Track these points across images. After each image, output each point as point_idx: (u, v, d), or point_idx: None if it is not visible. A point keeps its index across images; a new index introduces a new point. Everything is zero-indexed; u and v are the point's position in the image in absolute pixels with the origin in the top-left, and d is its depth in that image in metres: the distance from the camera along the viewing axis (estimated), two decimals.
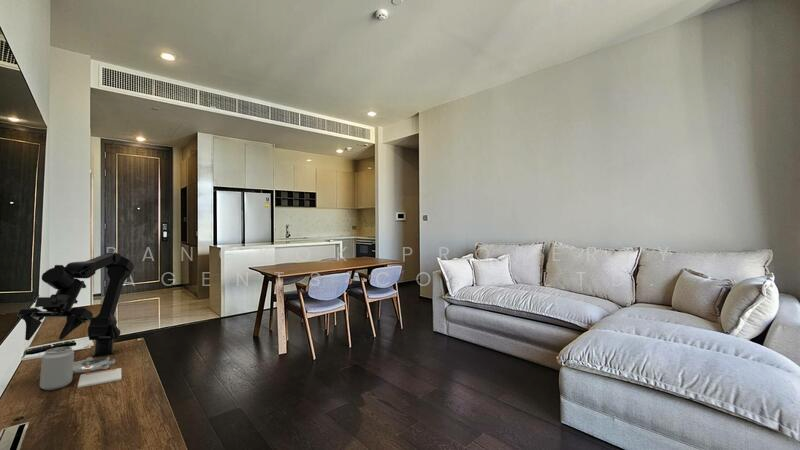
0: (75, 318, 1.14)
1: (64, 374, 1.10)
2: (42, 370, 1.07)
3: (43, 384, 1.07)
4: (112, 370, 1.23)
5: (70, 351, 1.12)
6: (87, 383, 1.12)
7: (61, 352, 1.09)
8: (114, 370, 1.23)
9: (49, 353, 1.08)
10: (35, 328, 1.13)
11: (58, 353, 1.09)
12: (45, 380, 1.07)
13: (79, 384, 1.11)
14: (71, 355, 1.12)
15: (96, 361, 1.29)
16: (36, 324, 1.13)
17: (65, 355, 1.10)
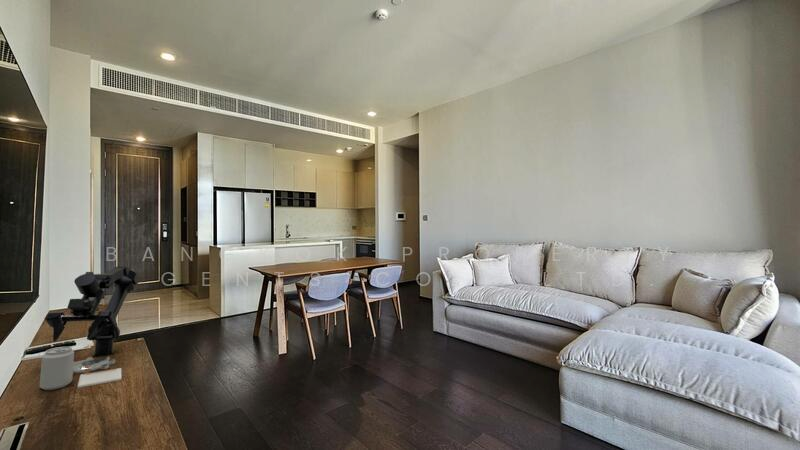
0: (102, 320, 1.23)
1: (64, 374, 1.10)
2: (42, 370, 1.07)
3: (43, 384, 1.07)
4: (112, 370, 1.23)
5: (70, 351, 1.12)
6: (87, 383, 1.12)
7: (61, 352, 1.09)
8: (114, 370, 1.23)
9: (49, 353, 1.08)
10: (60, 331, 1.20)
11: (58, 353, 1.09)
12: (45, 380, 1.07)
13: (79, 384, 1.11)
14: (71, 355, 1.12)
15: (96, 361, 1.29)
16: (61, 328, 1.20)
17: (65, 355, 1.10)
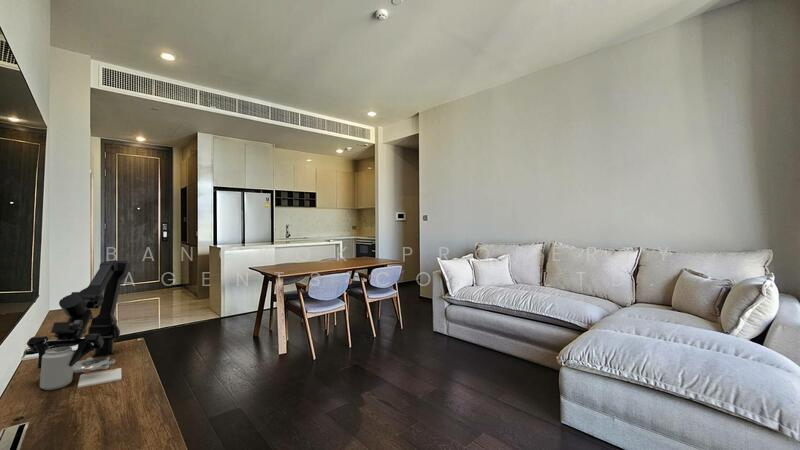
0: (87, 344, 1.15)
1: (64, 374, 1.10)
2: (42, 370, 1.07)
3: (43, 384, 1.07)
4: (112, 370, 1.23)
5: (70, 351, 1.12)
6: (87, 383, 1.12)
7: (61, 352, 1.09)
8: (114, 370, 1.23)
9: (49, 353, 1.08)
10: None
11: (58, 353, 1.09)
12: (45, 380, 1.07)
13: (79, 384, 1.11)
14: (71, 355, 1.12)
15: (96, 361, 1.29)
16: None
17: (65, 354, 1.10)
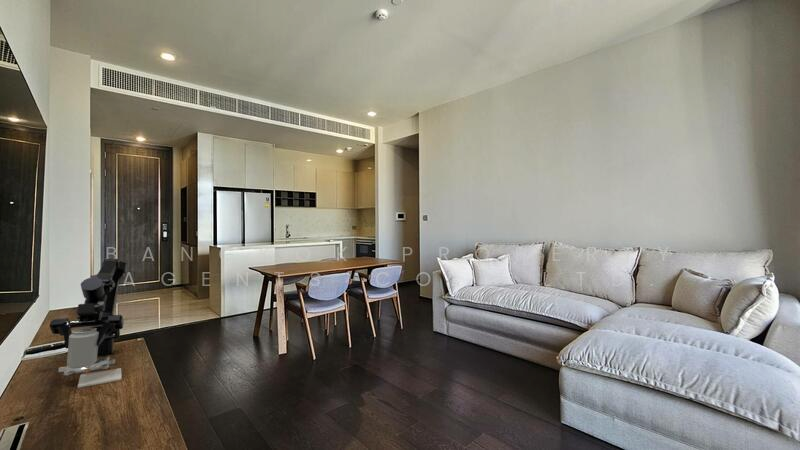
0: (111, 324, 1.20)
1: (92, 353, 1.14)
2: (71, 349, 1.11)
3: (72, 362, 1.11)
4: (112, 370, 1.23)
5: (96, 331, 1.16)
6: (87, 383, 1.12)
7: (89, 332, 1.14)
8: (114, 370, 1.23)
9: (77, 333, 1.12)
10: None
11: (86, 333, 1.13)
12: (74, 359, 1.11)
13: (79, 384, 1.11)
14: (97, 335, 1.16)
15: (96, 361, 1.29)
16: (70, 334, 1.15)
17: (93, 334, 1.14)
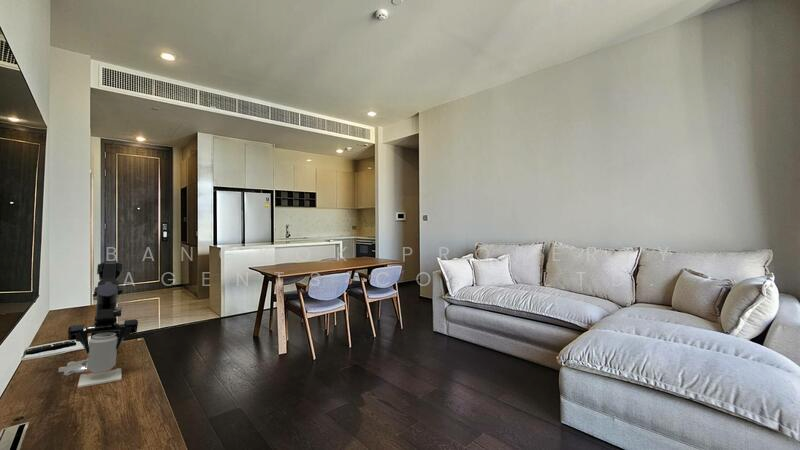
0: (128, 329, 1.24)
1: (113, 356, 1.18)
2: (93, 354, 1.14)
3: (95, 366, 1.14)
4: (112, 370, 1.23)
5: (115, 336, 1.20)
6: (87, 383, 1.12)
7: (110, 336, 1.18)
8: (114, 370, 1.23)
9: (99, 338, 1.16)
10: None
11: (108, 337, 1.17)
12: (97, 363, 1.15)
13: (79, 384, 1.11)
14: None
15: None
16: None
17: (114, 338, 1.18)
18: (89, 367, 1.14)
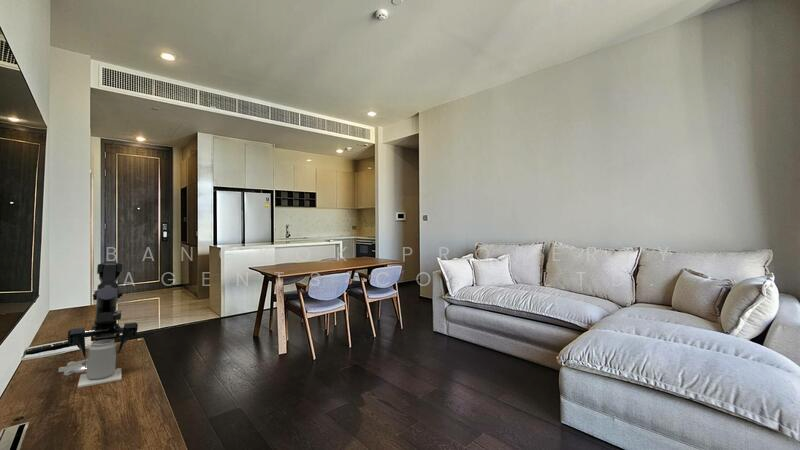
0: (130, 332, 1.24)
1: (112, 363, 1.18)
2: (92, 361, 1.14)
3: (94, 373, 1.14)
4: None
5: (114, 342, 1.20)
6: (87, 383, 1.12)
7: (109, 343, 1.18)
8: None
9: (98, 345, 1.15)
10: None
11: (107, 344, 1.17)
12: (96, 370, 1.15)
13: (79, 384, 1.11)
14: (116, 346, 1.20)
15: None
16: None
17: (113, 345, 1.18)
18: (88, 374, 1.14)
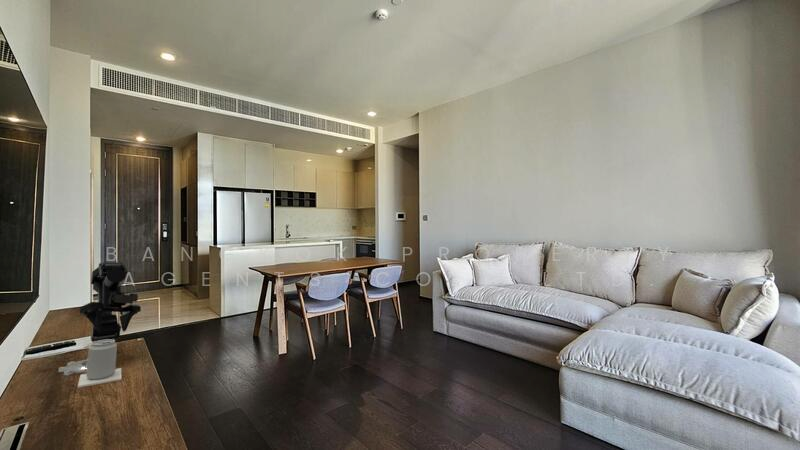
0: (134, 313, 1.37)
1: (112, 363, 1.18)
2: (92, 361, 1.14)
3: (94, 374, 1.14)
4: None
5: (114, 342, 1.20)
6: (87, 383, 1.12)
7: (110, 343, 1.18)
8: None
9: (99, 345, 1.15)
10: None
11: (107, 344, 1.17)
12: (97, 370, 1.15)
13: (79, 384, 1.11)
14: (116, 346, 1.20)
15: None
16: None
17: (113, 345, 1.18)
18: (88, 374, 1.14)
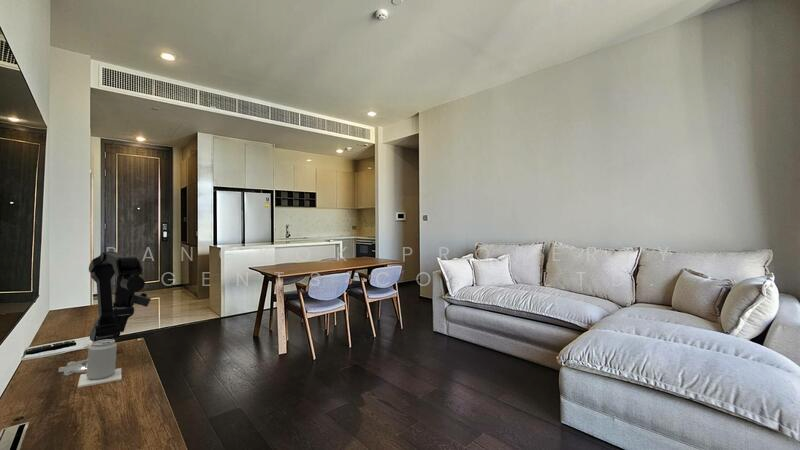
0: None
1: (112, 363, 1.18)
2: (92, 361, 1.14)
3: (94, 374, 1.14)
4: None
5: (114, 342, 1.20)
6: (87, 383, 1.12)
7: (110, 343, 1.18)
8: None
9: (99, 345, 1.16)
10: None
11: (107, 344, 1.17)
12: (97, 370, 1.15)
13: (79, 384, 1.11)
14: (116, 346, 1.20)
15: None
16: None
17: (113, 345, 1.18)
18: (88, 374, 1.14)
